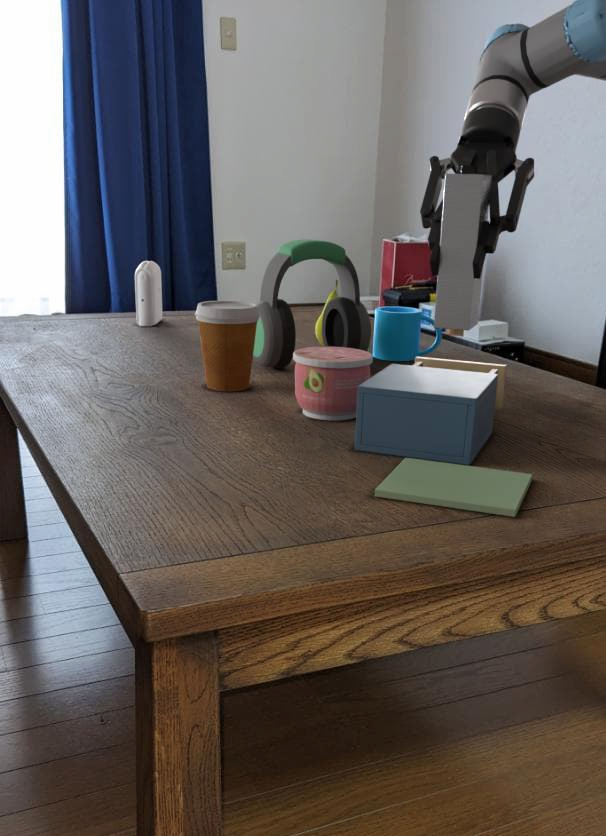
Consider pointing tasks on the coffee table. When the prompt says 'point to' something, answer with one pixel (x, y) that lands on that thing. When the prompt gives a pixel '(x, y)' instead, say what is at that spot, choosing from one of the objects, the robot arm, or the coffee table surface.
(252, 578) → the coffee table surface
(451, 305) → the silver box
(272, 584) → the coffee table surface
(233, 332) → the disposable coffee cup
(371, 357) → the container
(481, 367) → the drawer
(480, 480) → the mat
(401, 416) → the cabinet
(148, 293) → the white pill-shaped pillar
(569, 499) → the coffee table surface
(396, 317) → the mug
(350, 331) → the headphones
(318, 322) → the fruit
